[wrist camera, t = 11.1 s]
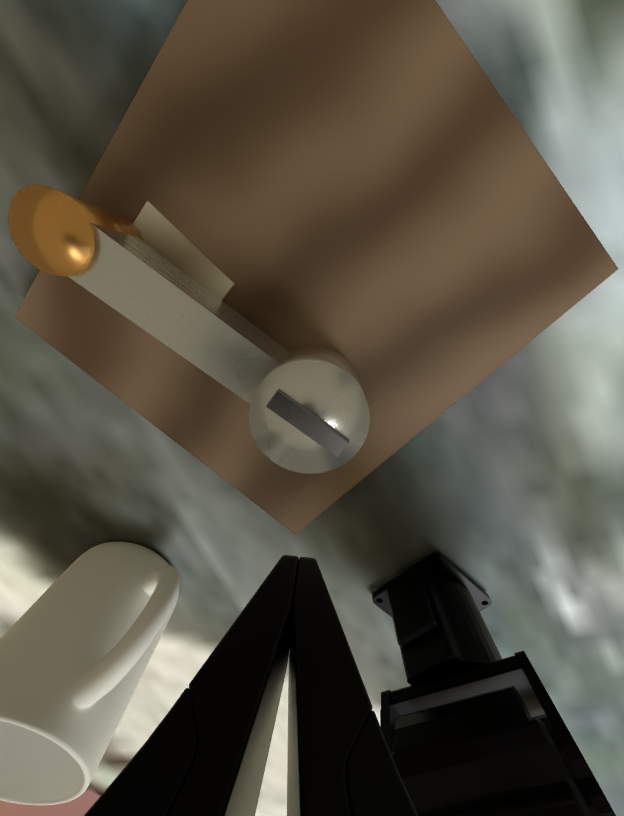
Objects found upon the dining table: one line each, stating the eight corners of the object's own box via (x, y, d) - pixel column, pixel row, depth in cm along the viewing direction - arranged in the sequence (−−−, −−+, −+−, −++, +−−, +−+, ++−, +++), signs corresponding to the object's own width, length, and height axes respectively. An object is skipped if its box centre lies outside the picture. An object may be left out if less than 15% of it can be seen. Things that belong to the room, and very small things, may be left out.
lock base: (591, 271, 15) (622, 268, 14) (297, 518, 21) (295, 536, 20) (301, -139, 11) (297, -212, 10) (39, 315, 17) (10, 317, 16)
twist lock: (379, 384, 16) (397, 415, 12) (321, 450, 17) (319, 498, 13) (112, 175, 13) (15, 120, 9) (70, 274, 15) (-29, 266, 11)
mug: (164, 496, 21) (29, 661, 12) (239, 570, 23) (178, 762, 14) (58, 565, 24) (-121, 745, 14) (134, 626, 26) (22, 819, 17)
